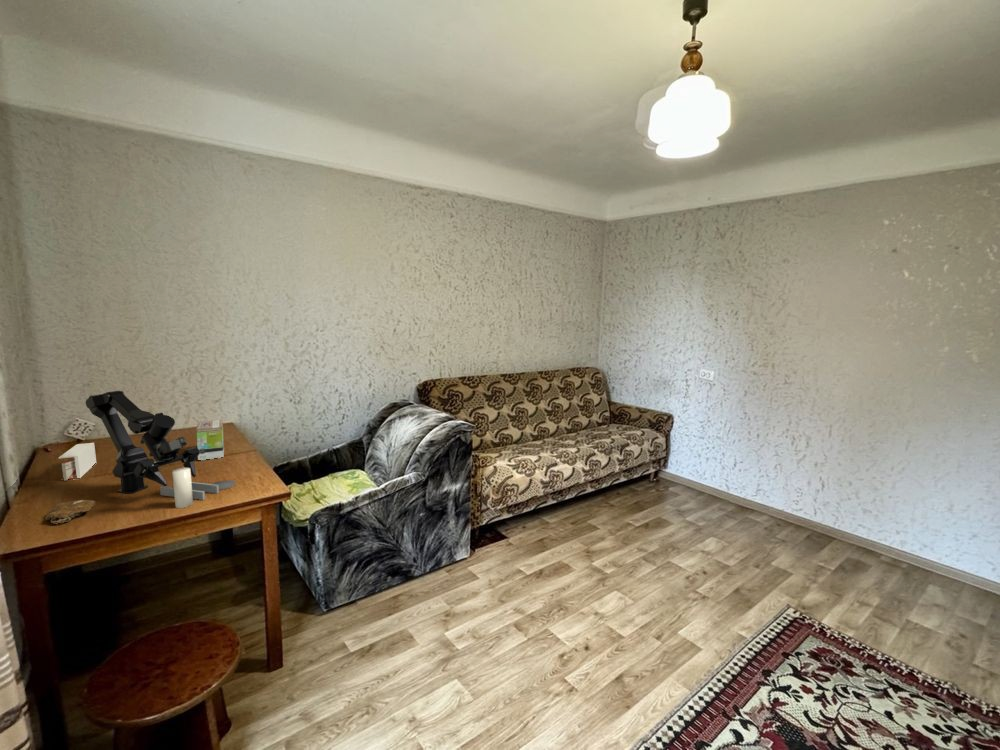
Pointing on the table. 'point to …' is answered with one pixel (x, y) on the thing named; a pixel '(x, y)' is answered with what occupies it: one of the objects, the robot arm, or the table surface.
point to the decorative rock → (69, 510)
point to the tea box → (210, 439)
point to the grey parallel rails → (193, 490)
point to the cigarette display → (78, 460)
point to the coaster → (225, 484)
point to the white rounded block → (182, 487)
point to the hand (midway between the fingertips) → (180, 480)
